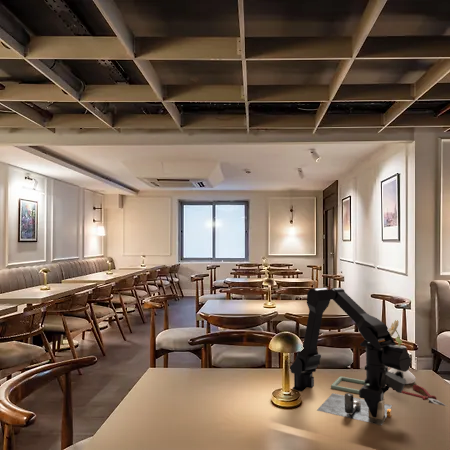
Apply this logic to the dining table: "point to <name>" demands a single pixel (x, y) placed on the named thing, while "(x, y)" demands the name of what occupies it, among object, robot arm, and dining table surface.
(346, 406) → the crank
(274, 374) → the dining table surface
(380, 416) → the block
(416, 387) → the pliers
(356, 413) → the base
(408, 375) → the flower in vase
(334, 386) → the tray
